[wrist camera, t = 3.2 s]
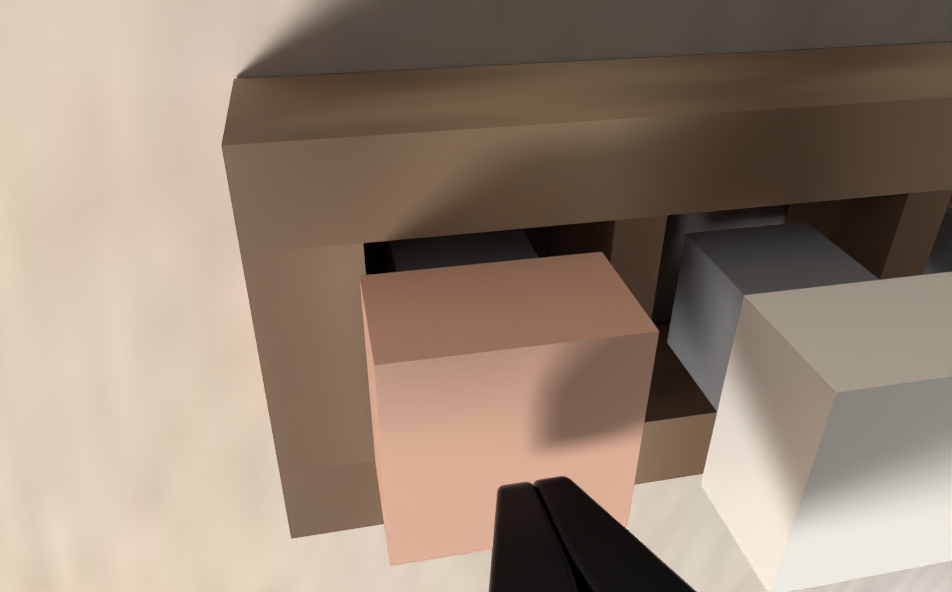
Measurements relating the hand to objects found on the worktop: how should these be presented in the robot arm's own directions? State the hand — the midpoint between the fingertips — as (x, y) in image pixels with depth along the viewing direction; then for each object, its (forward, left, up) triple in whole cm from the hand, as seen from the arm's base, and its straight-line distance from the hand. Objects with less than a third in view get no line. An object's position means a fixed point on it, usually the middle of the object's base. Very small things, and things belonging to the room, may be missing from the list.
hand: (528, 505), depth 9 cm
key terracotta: (0, 0, -6) cm, 6 cm away
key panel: (-5, 0, -6) cm, 8 cm away
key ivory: (-5, 0, -4) cm, 6 cm away
